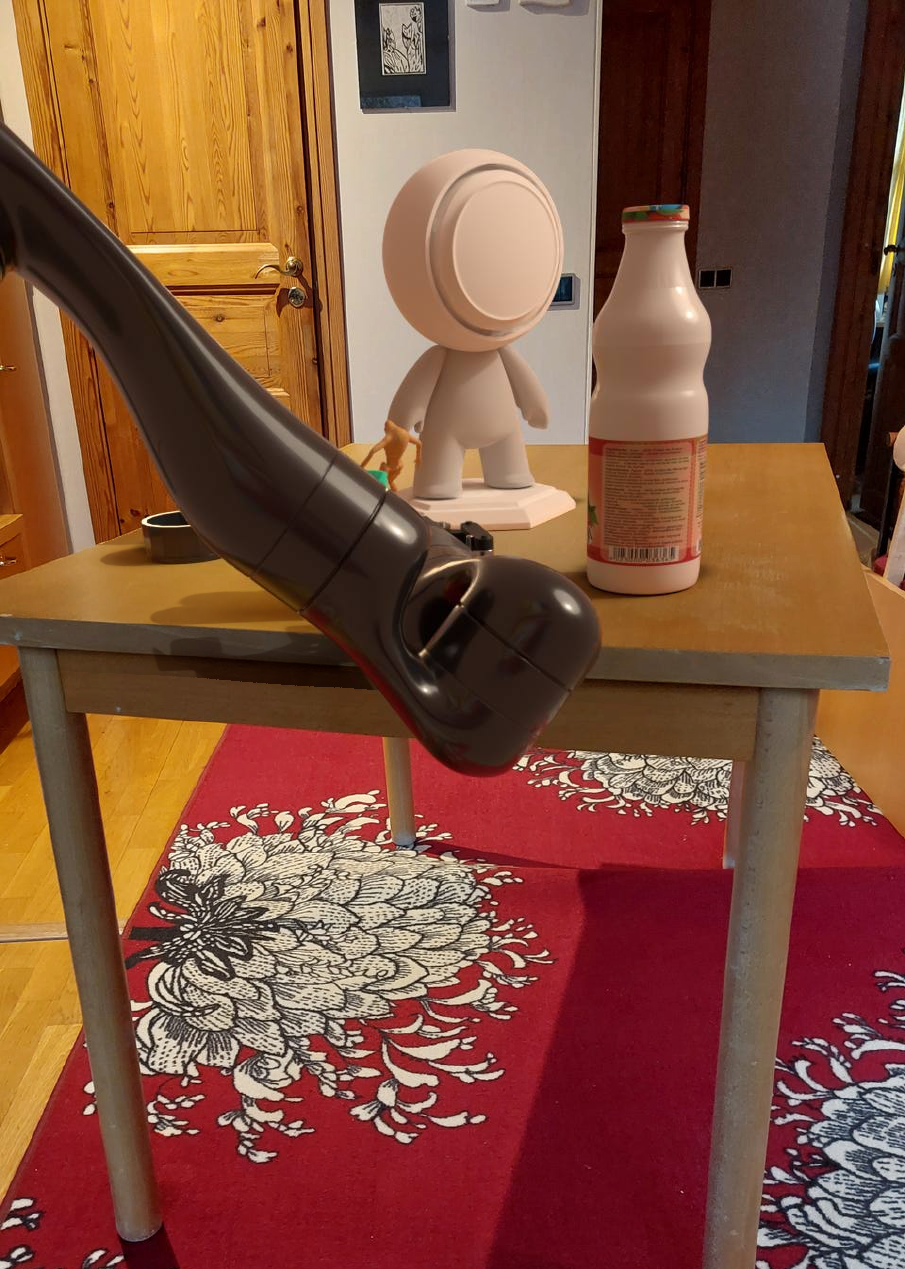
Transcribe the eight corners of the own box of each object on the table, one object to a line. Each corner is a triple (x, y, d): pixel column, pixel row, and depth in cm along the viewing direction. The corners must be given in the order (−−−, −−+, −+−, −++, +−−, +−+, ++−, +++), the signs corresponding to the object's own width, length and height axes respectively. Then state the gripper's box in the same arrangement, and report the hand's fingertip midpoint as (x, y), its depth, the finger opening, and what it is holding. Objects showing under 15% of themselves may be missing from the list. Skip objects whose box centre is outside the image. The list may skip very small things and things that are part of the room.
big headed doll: (447, 542, 110) (431, 134, 95) (348, 509, 128) (321, 162, 113) (607, 516, 119) (616, 139, 104) (493, 488, 137) (486, 163, 122)
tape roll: (167, 568, 105) (161, 531, 103) (134, 553, 111) (128, 518, 109) (249, 553, 109) (245, 517, 107) (213, 540, 115) (208, 506, 114)
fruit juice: (640, 603, 87) (655, 201, 75) (563, 581, 94) (565, 211, 82) (722, 582, 92) (749, 201, 80) (643, 563, 99) (656, 210, 87)
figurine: (400, 535, 114) (393, 413, 109) (441, 543, 110) (436, 416, 105) (339, 550, 109) (328, 422, 103) (379, 559, 105) (371, 426, 99)
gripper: (307, 660, 67) (274, 595, 81) (528, 633, 70) (459, 576, 85) (295, 536, 64) (263, 491, 78) (528, 514, 67) (456, 475, 81)
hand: (365, 535), depth 81 cm, fingers open, 8 cm apart
